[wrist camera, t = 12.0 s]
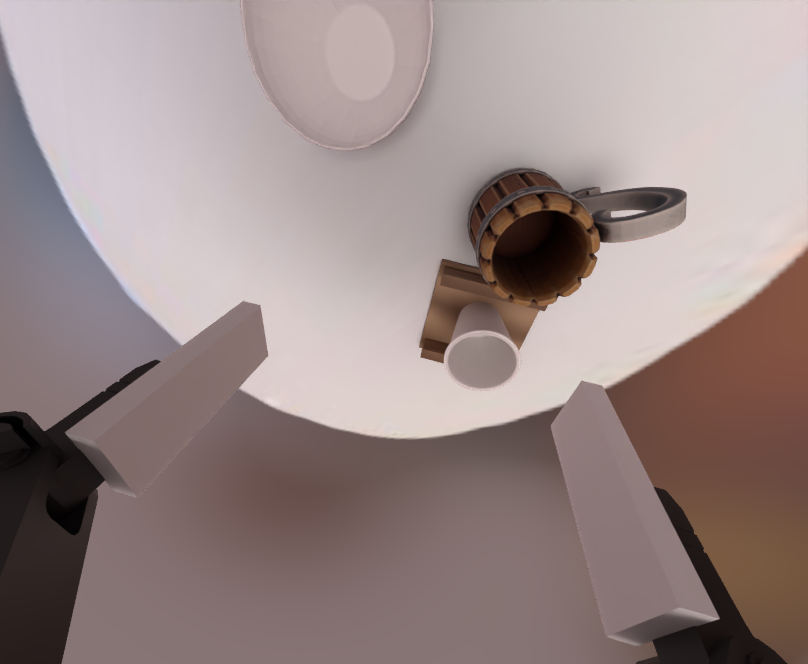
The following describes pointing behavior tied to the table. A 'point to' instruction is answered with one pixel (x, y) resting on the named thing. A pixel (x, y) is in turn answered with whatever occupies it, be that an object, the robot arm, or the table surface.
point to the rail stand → (458, 291)
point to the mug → (557, 231)
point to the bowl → (340, 64)
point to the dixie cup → (481, 349)
